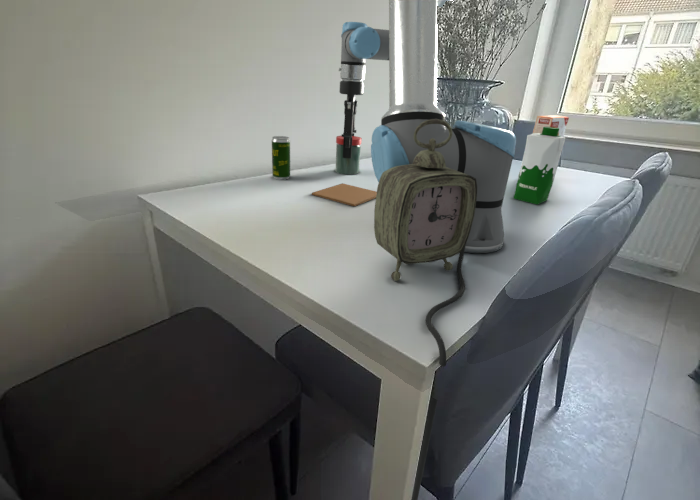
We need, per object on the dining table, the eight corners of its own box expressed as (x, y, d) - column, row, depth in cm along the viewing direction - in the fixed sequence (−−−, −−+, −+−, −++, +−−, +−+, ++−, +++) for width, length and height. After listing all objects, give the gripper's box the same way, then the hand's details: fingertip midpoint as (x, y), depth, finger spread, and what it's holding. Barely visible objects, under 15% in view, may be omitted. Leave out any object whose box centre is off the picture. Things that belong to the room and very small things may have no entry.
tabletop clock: (390, 288, 61) (410, 122, 51) (364, 263, 69) (376, 114, 58) (462, 273, 67) (492, 123, 57) (431, 252, 75) (452, 115, 64)
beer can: (283, 174, 123) (283, 135, 118) (293, 178, 119) (293, 138, 114) (269, 176, 119) (267, 136, 114) (278, 180, 116) (278, 139, 111)
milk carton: (551, 200, 113) (571, 129, 105) (539, 206, 107) (559, 131, 99) (521, 193, 118) (538, 125, 110) (508, 198, 112) (525, 126, 104)
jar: (350, 175, 126) (351, 142, 122) (330, 171, 130) (331, 139, 126) (363, 172, 132) (365, 140, 128) (344, 167, 136) (346, 137, 132)
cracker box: (537, 180, 135) (553, 117, 127) (520, 176, 139) (535, 115, 131) (553, 175, 144) (570, 116, 135) (537, 172, 148) (552, 114, 139)
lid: (349, 140, 133) (350, 134, 132) (366, 144, 127) (367, 138, 126) (330, 141, 127) (331, 136, 127) (347, 146, 122) (347, 140, 121)
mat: (354, 206, 98) (354, 204, 97) (311, 194, 105) (311, 192, 104) (382, 195, 108) (383, 193, 108) (342, 185, 115) (342, 183, 115)
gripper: (343, 79, 129) (340, 148, 139) (336, 80, 110) (333, 160, 119) (365, 80, 129) (361, 150, 138) (362, 82, 110) (357, 162, 119)
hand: (348, 155), depth 129 cm, fingers closed on lid, 8 cm apart
